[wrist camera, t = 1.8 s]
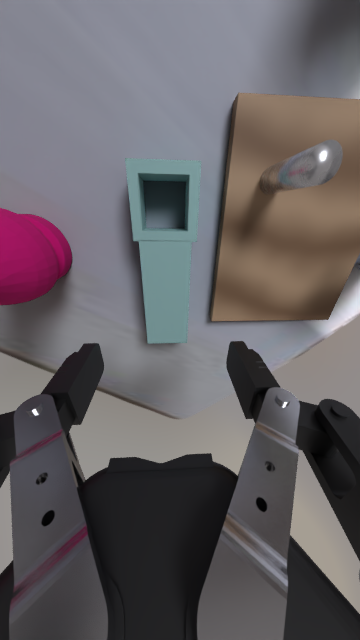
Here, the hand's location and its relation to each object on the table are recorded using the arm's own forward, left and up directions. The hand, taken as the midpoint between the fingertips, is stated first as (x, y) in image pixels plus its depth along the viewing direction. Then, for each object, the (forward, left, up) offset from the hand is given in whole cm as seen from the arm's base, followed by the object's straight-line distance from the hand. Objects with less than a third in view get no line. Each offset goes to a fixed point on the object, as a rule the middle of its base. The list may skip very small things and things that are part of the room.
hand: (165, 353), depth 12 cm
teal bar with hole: (-3, 0, -12) cm, 12 cm away
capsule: (-10, +9, -12) cm, 18 cm away
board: (-6, +13, -12) cm, 18 cm away
